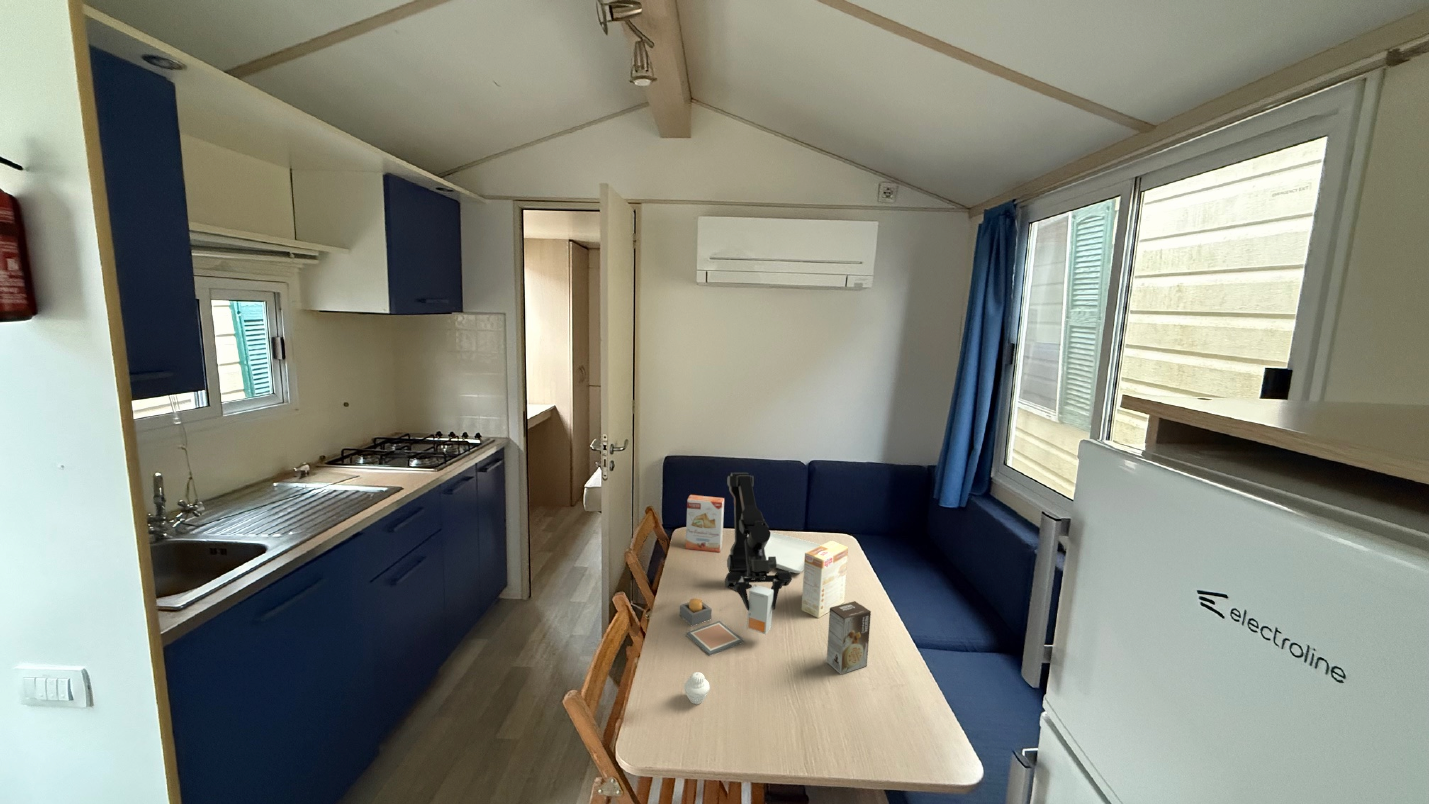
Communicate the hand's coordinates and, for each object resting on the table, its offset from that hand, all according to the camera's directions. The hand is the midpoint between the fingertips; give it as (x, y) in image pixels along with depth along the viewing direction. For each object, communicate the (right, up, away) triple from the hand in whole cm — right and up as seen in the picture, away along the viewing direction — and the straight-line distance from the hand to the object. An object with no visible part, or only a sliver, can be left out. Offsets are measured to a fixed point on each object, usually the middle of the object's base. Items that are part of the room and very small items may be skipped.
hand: (761, 609), depth 157 cm
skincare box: (0, -6, +2) cm, 7 cm away
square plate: (+13, -2, +60) cm, 62 cm away
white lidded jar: (-18, -14, -22) cm, 31 cm away
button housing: (-19, -8, +14) cm, 25 cm away
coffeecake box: (+22, -8, +24) cm, 33 cm away
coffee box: (+22, -13, -6) cm, 27 cm away
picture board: (-13, -10, +4) cm, 17 cm away
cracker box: (-17, 0, +65) cm, 67 cm away
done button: (-19, -6, +14) cm, 24 cm away
